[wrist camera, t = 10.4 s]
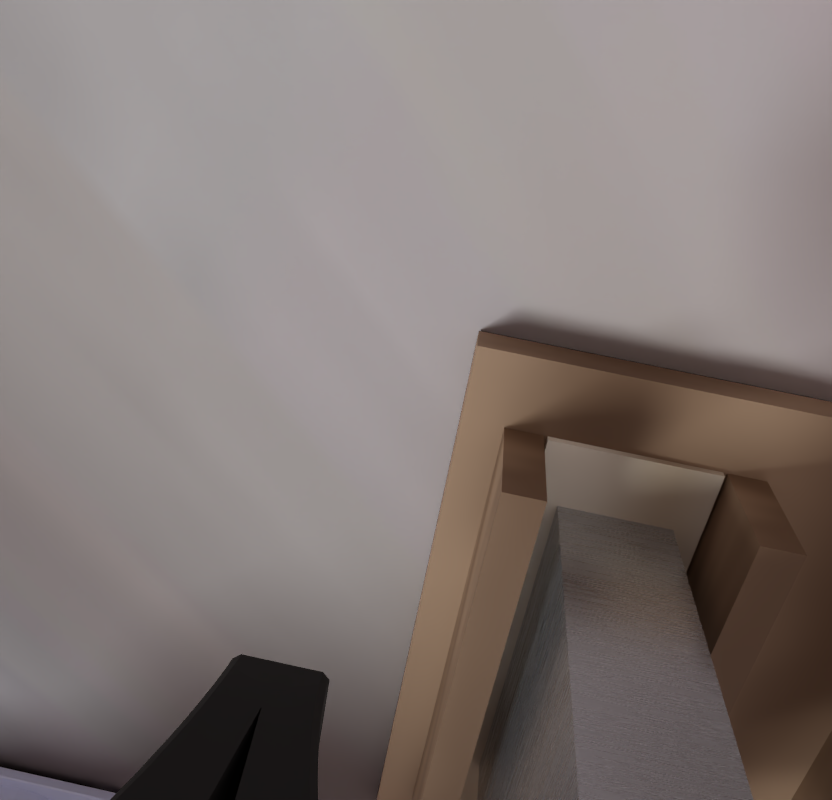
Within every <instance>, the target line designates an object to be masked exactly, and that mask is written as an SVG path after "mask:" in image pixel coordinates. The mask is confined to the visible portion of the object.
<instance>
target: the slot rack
mask: <svg viewBox="0 0 832 800" xmlns="http://www.w3.org/2000/svg"><path fill="white" fill-rule="evenodd" d="M557 506H561V507H566V508H571V509H575V510H580V511H585V512H590V513H594V514H599V515H604V516H609V517H614V518H618V519H623V520H628V521H633V522H638V523H642V524H647V525H652V526H657V527H661V528H666V529H671V530H673V531H674V534H675V538H676V541H677V545H678V548H679V551H680V555H681V558H682V561H683V565H684V568H685V571H686V575H687V578H688V582H689V585H690V588H691V592H692V595H693V598H694V602H695V605H696V608H697V612H698V615H699V618H700V622H701V625H702V629H703V632H704V635H705V639H706V642H707V645H708V649H709V652H710V655H711V659H712V662H713V665H714V669H715V672H716V676H717V679H718V682H719V686H720V689H721V692H722V696H723V699H724V702H725V706H726V709H727V712H728V716H729V719H730V723H731V726H732V729H733V733H734V736H735V739H736V743H737V746H738V749H739V753H740V756H741V759H742V763H743V766H744V770H745V773H746V776H747V780H748V783H749V786H750V790H751V793H752V796H753V800H832V402H829V401H824V400H819V399H814V398H809V397H804V396H799V395H794V394H789V393H785V392H780V391H775V390H770V389H765V388H760V387H755V386H750V385H745V384H740V383H735V382H730V381H725V380H720V379H715V378H710V377H705V376H700V375H695V374H690V373H686V372H681V371H676V370H671V369H666V368H661V367H656V366H651V365H646V364H641V363H636V362H631V361H626V360H621V359H616V358H611V357H606V356H601V355H596V354H591V353H586V352H582V351H577V350H572V349H567V348H562V347H557V346H552V345H547V344H542V343H537V342H532V341H527V340H522V339H517V338H512V337H507V336H502V335H497V334H492V333H487V332H483V331H479V333H478V338H477V343H476V347H475V352H474V356H473V361H472V365H471V370H470V375H469V379H468V384H467V388H466V393H465V397H464V402H463V406H462V411H461V416H460V420H459V425H458V429H457V434H456V438H455V443H454V448H453V452H452V457H451V461H450V466H449V470H448V475H447V480H446V484H445V489H444V493H443V498H442V502H441V507H440V512H439V516H438V521H437V525H436V530H435V534H434V539H433V544H432V548H431V553H430V557H429V562H428V566H427V571H426V576H425V580H424V585H423V589H422V594H421V598H420V603H419V608H418V612H417V617H416V621H415V626H414V630H413V635H412V639H411V644H410V649H409V653H408V658H407V662H406V667H405V671H404V676H403V681H402V685H401V690H400V694H399V699H398V703H397V708H396V713H395V717H394V722H393V726H392V731H391V735H390V740H389V745H388V749H387V754H386V758H385V763H384V767H383V772H382V777H381V781H380V786H379V790H378V795H377V799H376V800H477V795H478V777H479V765H480V762H481V759H482V755H483V752H484V749H485V745H486V742H487V739H488V735H489V732H490V729H491V725H492V722H493V719H494V715H495V712H496V709H497V705H498V702H499V699H500V695H501V692H502V689H503V685H504V682H505V679H506V675H507V672H508V669H509V665H510V662H511V659H512V655H513V652H514V649H515V645H516V642H517V639H518V635H519V632H520V629H521V625H522V622H523V619H524V615H525V612H526V609H527V605H528V602H529V599H530V595H531V592H532V589H533V585H534V582H535V579H536V575H537V572H538V569H539V565H540V562H541V559H542V555H543V552H544V549H545V545H546V542H547V539H548V535H549V532H550V529H551V525H552V522H553V519H554V515H555V512H556V509H557Z"/></svg>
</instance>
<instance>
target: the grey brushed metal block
mask: <svg viewBox="0 0 832 800" xmlns="http://www.w3.org/2000/svg"><path fill="white" fill-rule="evenodd" d="M477 800H753V796H752V793H751V790H750V786H749V783H748V780H747V776H746V773H745V770H744V766H743V763H742V759H741V756H740V753H739V749H738V746H737V743H736V739H735V736H734V733H733V729H732V726H731V723H730V719H729V716H728V712H727V709H726V706H725V702H724V699H723V696H722V692H721V689H720V686H719V682H718V679H717V676H716V672H715V669H714V665H713V662H712V659H711V655H710V652H709V649H708V645H707V642H706V639H705V635H704V632H703V629H702V625H701V622H700V618H699V615H698V612H697V608H696V605H695V602H694V598H693V595H692V592H691V588H690V585H689V582H688V578H687V575H686V571H685V568H684V565H683V561H682V558H681V555H680V551H679V548H678V545H677V541H676V538H675V534H674V531H673V530H671V529H666V528H661V527H657V526H652V525H647V524H642V523H638V522H633V521H628V520H623V519H618V518H614V517H609V516H604V515H599V514H594V513H590V512H585V511H580V510H575V509H571V508H566V507H561V506H557V509H556V512H555V515H554V519H553V522H552V525H551V529H550V532H549V535H548V539H547V542H546V545H545V549H544V552H543V555H542V559H541V562H540V565H539V569H538V572H537V575H536V579H535V582H534V585H533V589H532V592H531V595H530V599H529V602H528V605H527V609H526V612H525V615H524V619H523V622H522V625H521V629H520V632H519V635H518V639H517V642H516V645H515V649H514V652H513V655H512V659H511V662H510V665H509V669H508V672H507V675H506V679H505V682H504V685H503V689H502V692H501V695H500V699H499V702H498V705H497V709H496V712H495V715H494V719H493V722H492V725H491V729H490V732H489V735H488V739H487V742H486V745H485V749H484V752H483V755H482V759H481V762H480V765H479V777H478V795H477Z"/></svg>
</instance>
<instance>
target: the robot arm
mask: <svg viewBox="0 0 832 800" xmlns="http://www.w3.org/2000/svg"><path fill="white" fill-rule="evenodd" d="M328 686H329V679H328V678H327V677H326V675H325V674H324V673H323V672H319V671H315V670H310V669H306V668H301V667H296V666H292V665H287V664H283V663H278V662H274V661H269V660H264V659H260V658H255V657H251V656H246V655H242V654H241V655H239V656H237V657H235V658H233V659H232V660H231V662H230V663H229V665H228V666H227V667H226V669H225V670H224V672H223V673H222V674H221V676H220V677H219V678H218V680H217V681H216V682H215V684H214V685H213V686H212V687H211V689H210V690H209V691H208V692H207V694H206V695H205V696H204V697H203V699H202V700H201V701H200V702H199V704H198V705H197V706H196V707H195V708H194V710H193V711H192V712H191V713H190V714H189V715H188V717H187V718H186V719H185V720H184V721H183V722H182V724H181V725H180V726H179V727H178V728H177V729H176V731H175V732H174V733H173V734H172V735H171V736H170V737H169V738H168V739H167V740H166V742H165V743H164V744H163V745H162V746H161V747H160V748H159V749H158V750H157V751H156V752H155V754H154V755H153V756H152V757H151V758H150V759H149V760H148V761H147V762H146V763H145V764H144V766H143V767H142V768H141V769H140V770H139V771H138V772H137V773H136V774H135V775H134V776H133V777H132V778H131V779H130V780H129V781H128V782H127V783H126V784H125V785H124V786H123V787H122V788H121V789H120V790H119V791H118V792H117V793H114V792H109V791H105V790H100V789H96V788H92V787H87V786H83V785H78V784H74V783H70V782H65V781H61V780H56V779H52V778H47V777H43V776H39V775H34V774H30V773H25V772H21V771H17V770H12V769H8V768H3V767H0V800H318V782H317V779H318V749H319V742H320V735H321V729H322V723H323V717H324V710H325V704H326V698H327V692H328Z"/></svg>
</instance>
